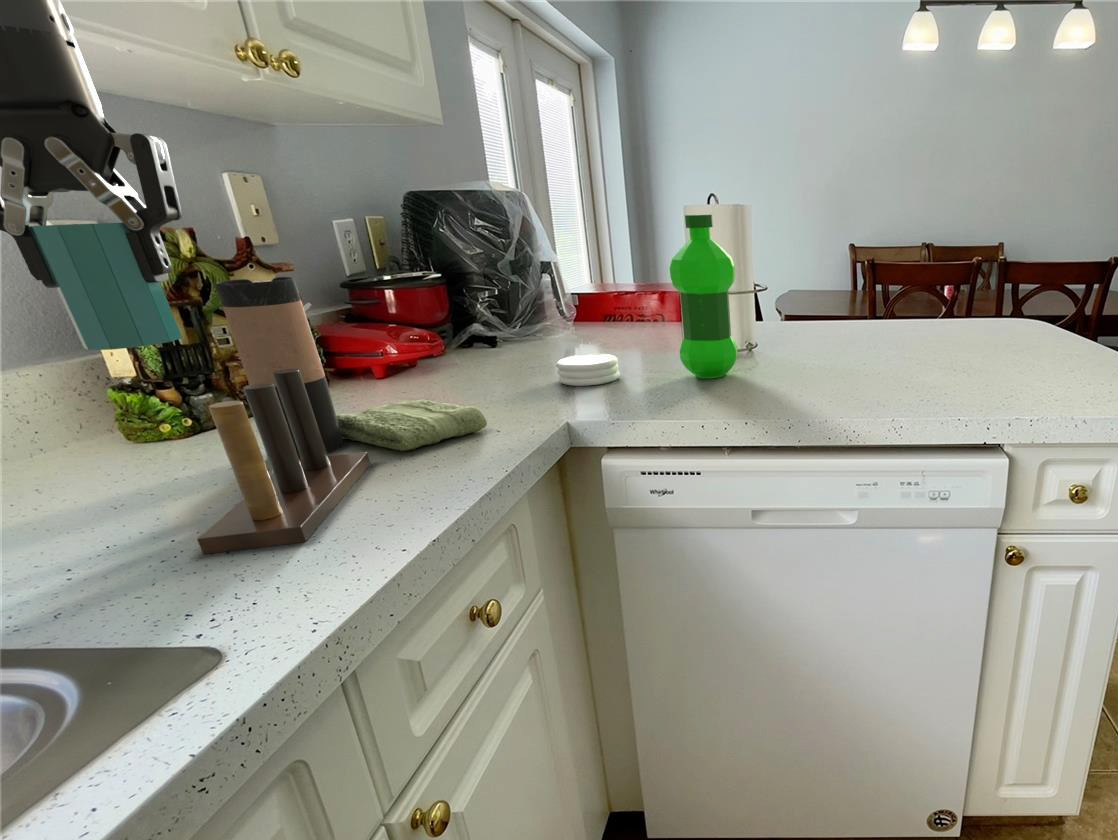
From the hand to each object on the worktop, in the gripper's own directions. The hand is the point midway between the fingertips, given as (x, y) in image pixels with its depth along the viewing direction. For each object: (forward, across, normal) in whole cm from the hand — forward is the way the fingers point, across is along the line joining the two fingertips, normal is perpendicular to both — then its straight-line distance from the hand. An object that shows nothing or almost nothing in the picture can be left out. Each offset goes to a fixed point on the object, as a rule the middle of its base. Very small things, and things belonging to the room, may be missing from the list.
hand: (109, 283), depth 56 cm
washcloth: (+22, +11, +29) cm, 38 cm away
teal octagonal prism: (+5, 0, 0) cm, 5 cm away
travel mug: (+22, 0, +26) cm, 34 cm away
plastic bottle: (+23, +54, +49) cm, 76 cm away
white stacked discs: (+22, +34, +53) cm, 67 cm away
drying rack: (+22, +5, +6) cm, 23 cm away
